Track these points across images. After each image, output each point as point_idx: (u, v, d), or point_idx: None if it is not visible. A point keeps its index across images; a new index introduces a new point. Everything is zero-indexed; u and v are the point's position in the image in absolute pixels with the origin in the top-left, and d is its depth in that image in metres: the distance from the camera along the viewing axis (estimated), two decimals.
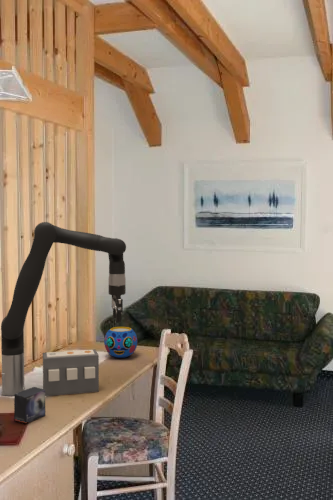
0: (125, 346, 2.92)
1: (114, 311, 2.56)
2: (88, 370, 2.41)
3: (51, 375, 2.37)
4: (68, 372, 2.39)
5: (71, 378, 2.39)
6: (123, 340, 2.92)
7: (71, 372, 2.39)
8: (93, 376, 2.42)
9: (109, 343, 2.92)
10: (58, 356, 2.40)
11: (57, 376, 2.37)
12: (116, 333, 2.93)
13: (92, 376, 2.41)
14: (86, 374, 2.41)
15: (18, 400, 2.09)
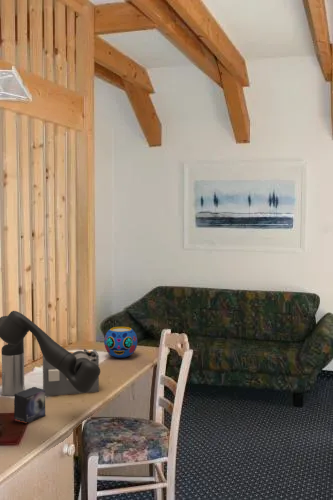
0: (125, 346, 2.92)
1: None
2: None
3: (51, 375, 2.37)
4: None
5: None
6: (123, 340, 2.92)
7: None
8: None
9: (109, 343, 2.92)
10: None
11: (57, 376, 2.37)
12: (116, 333, 2.93)
13: None
14: None
15: (18, 400, 2.09)
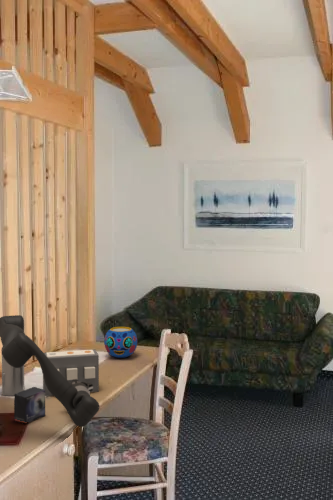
0: (125, 346, 2.92)
1: None
2: (88, 370, 2.41)
3: None
4: (68, 372, 2.39)
5: (71, 378, 2.39)
6: (123, 340, 2.92)
7: (71, 372, 2.39)
8: (93, 376, 2.42)
9: (109, 343, 2.92)
10: (58, 356, 2.40)
11: None
12: (116, 333, 2.93)
13: (92, 376, 2.41)
14: (86, 374, 2.41)
15: (18, 400, 2.09)
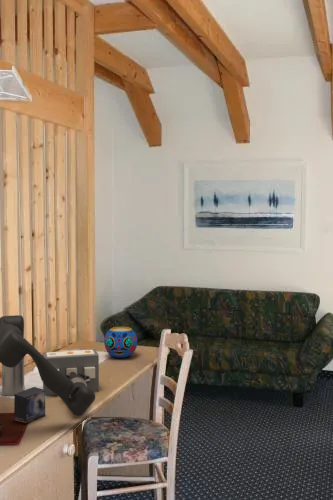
0: (125, 346, 2.92)
1: None
2: (88, 370, 2.41)
3: None
4: (68, 371, 2.40)
5: None
6: (123, 340, 2.92)
7: (71, 371, 2.40)
8: (93, 376, 2.42)
9: (109, 343, 2.92)
10: (58, 356, 2.40)
11: None
12: (116, 333, 2.93)
13: (92, 376, 2.41)
14: (86, 374, 2.41)
15: (18, 400, 2.09)
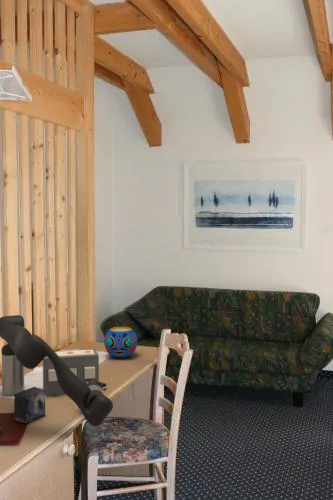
0: (125, 346, 2.92)
1: None
2: (88, 370, 2.41)
3: (51, 375, 2.37)
4: None
5: None
6: (123, 340, 2.92)
7: None
8: (93, 376, 2.42)
9: (109, 343, 2.92)
10: None
11: None
12: (116, 333, 2.93)
13: (92, 376, 2.41)
14: (86, 374, 2.41)
15: (18, 400, 2.09)
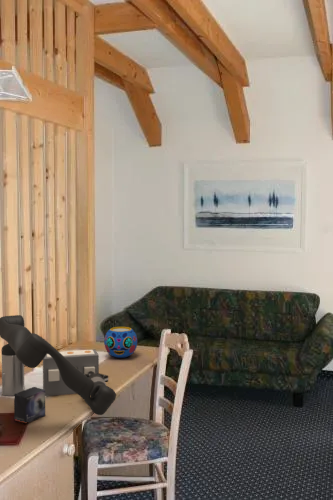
0: (125, 346, 2.92)
1: None
2: (88, 370, 2.41)
3: (51, 375, 2.37)
4: None
5: None
6: (123, 340, 2.92)
7: None
8: None
9: (109, 343, 2.92)
10: None
11: (57, 376, 2.37)
12: (116, 333, 2.93)
13: None
14: None
15: (18, 400, 2.09)
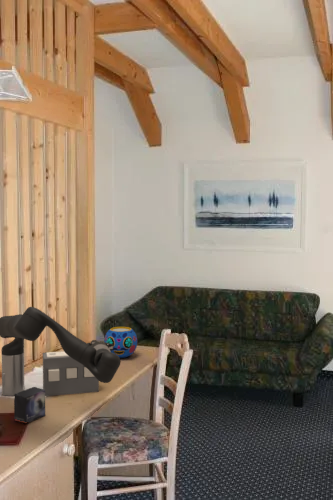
0: (125, 346, 2.92)
1: None
2: (87, 369, 2.43)
3: (51, 375, 2.37)
4: (68, 371, 2.41)
5: (71, 377, 2.41)
6: (123, 340, 2.92)
7: (71, 371, 2.41)
8: (92, 375, 2.43)
9: None
10: (58, 356, 2.40)
11: (57, 376, 2.37)
12: (116, 333, 2.93)
13: (91, 375, 2.43)
14: (85, 373, 2.43)
15: (18, 400, 2.09)
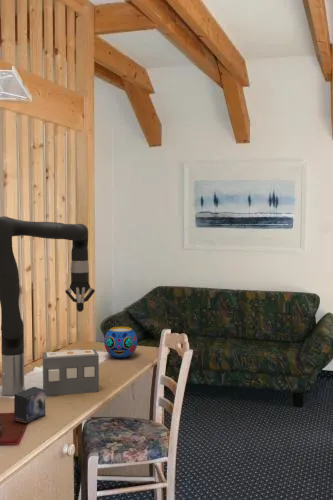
0: (125, 346, 2.92)
1: None
2: (87, 369, 2.43)
3: (51, 375, 2.37)
4: (68, 371, 2.41)
5: (71, 377, 2.41)
6: (123, 340, 2.92)
7: (71, 371, 2.41)
8: (92, 375, 2.43)
9: (109, 343, 2.92)
10: (58, 356, 2.40)
11: (57, 376, 2.37)
12: (116, 333, 2.93)
13: (91, 375, 2.43)
14: (85, 373, 2.43)
15: (18, 400, 2.09)
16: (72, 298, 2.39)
